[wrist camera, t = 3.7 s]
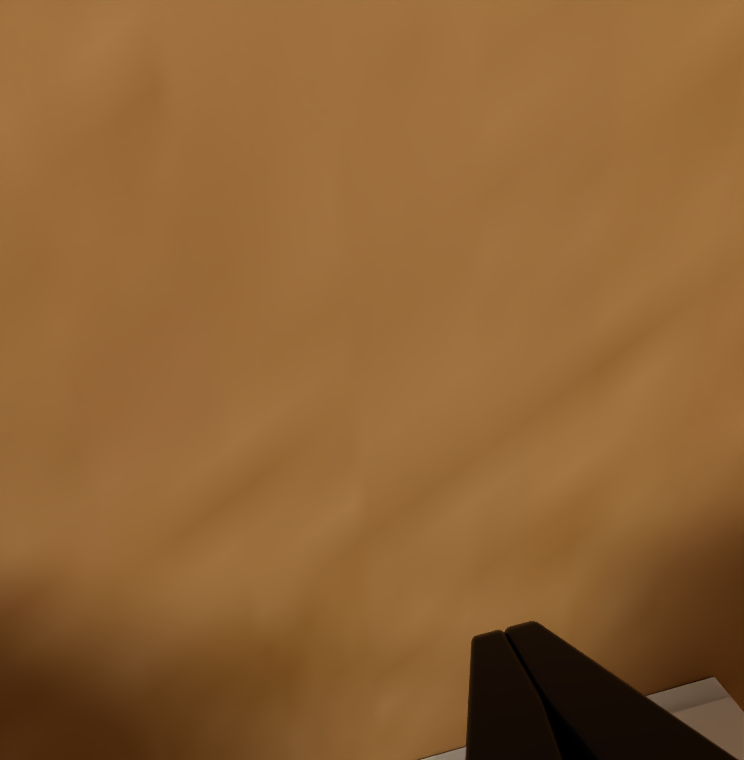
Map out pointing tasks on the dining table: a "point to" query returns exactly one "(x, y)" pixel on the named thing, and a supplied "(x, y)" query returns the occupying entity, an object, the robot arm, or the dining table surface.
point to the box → (689, 715)
